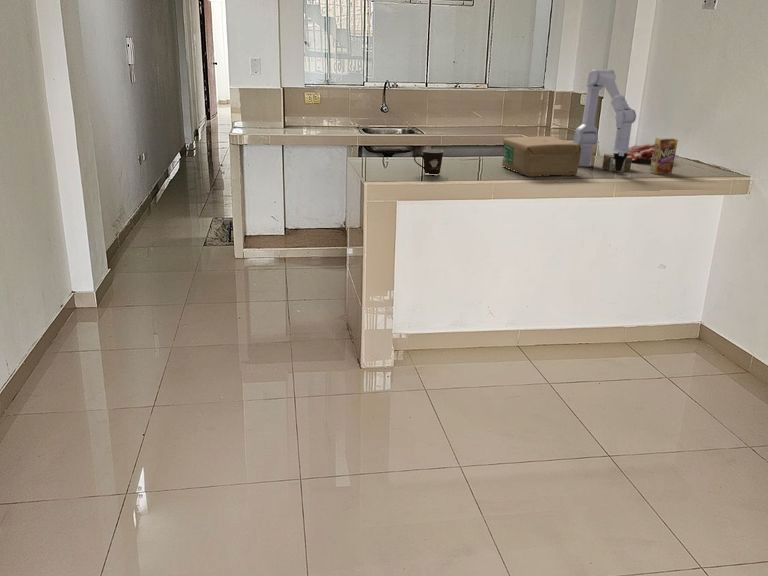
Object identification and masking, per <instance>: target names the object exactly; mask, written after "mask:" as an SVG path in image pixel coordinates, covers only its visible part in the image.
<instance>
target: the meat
mask: <svg viewBox="0 0 768 576" xmlns="http://www.w3.org/2000/svg"><path fill="white" fill-rule="evenodd" d="M654 145H655V142H654V143H647V144H641V145H639V144H638V145H637V144H636V145H635V144H634V145H632V146H629V147H628V149H631V151H628V152H625V153H627V156H632V161H636V160H638V159H639V160H650V159H651V160H652V155H653V150H654Z"/></svg>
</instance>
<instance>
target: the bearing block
mask: <svg viewBox="0 0 768 576" xmlns="http://www.w3.org/2000/svg"><path fill="white" fill-rule="evenodd" d="M602 158H603V160H602V166H601V168H602V170H604V169H607V171H609V167H610V160H611V158H614V160H613V161H615V157H614V154H607V153H604V154H603V157H602ZM632 161H633V160H632V156H627V157H626V159H625V166H624V172H631V169H632V168H631V167H632Z"/></svg>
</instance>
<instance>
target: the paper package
mask: <svg viewBox="0 0 768 576" xmlns="http://www.w3.org/2000/svg"><path fill="white" fill-rule="evenodd" d="M580 155H581V146H579V144H575V143H574V142H572V141H568V140H564V139H560V138H557V137H553V136H549V135H548V136H547V135H545V136H544V135H542V136H540V135H539V136H516V137H514V136H512V137H504V138H503V156H502V157H503V158H502V162H501V163H502V165H503V166H505V167H507V168H510V169H512V170H515V171H517V172H519V173H521V174H520V175H522V174H524V175H526V176H525V177H541V176H540V175H544V176H543V177H549V176H548V175H562V176H575V175H577V174H578V170H579V166H578V165H579V161H580ZM502 165H501V166H502ZM512 170H511V171H512ZM517 172H516V173H517ZM519 173H518V174H519ZM524 175H523V176H524ZM546 175H547V176H546Z"/></svg>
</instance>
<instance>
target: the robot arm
mask: <svg viewBox="0 0 768 576" xmlns="http://www.w3.org/2000/svg"><path fill="white" fill-rule="evenodd" d="M616 78H617V77H616V73H615V71H614V69H600V68H599V69H595V68H592V70H591V71H590V72H588V78H587V83H586V87H587V89H586V90H587V91H586V95H585V96H586V97H585V102H584V109H583V116H582V122H581V124H580V125H579V126H578V127H576V129H575V133H574V135H573V138H572V140H573V143H575V144H579V146H581V155H580V161H579V165H578V167H587V168H588V167H590V168H591V167H592V163H591V162H592V155H593V148H594V147H595V145H596V144H597V142H598V139H599V137H598V127H596V126H595V121H596V115H597V108H598V102H599V96H600V95H599V94H600V90H602V89H603V88H605V90H606V91H607V93H608V94H609V96H610V98H611V101H610V102H611V103H610V104H611V106H612V108H613V110H614V112H615V114H616V115H615V117H614V118H615V123H616V124H615V127H616V133H615V141H614V147H613V151H614V153H613V154H612V155H614V157H615V160H614V161H615V169H616V170H617V171H621V169H622V166H623V163H624V160H625V159H626V157H627V153H625V152H628V151H631V149H628V148H629V147H630V146H629V145H630V140H631V132H632V124H633V123H634V122H635V121H636V119H637V114H636V110H634V109H632V108H631V107H630V106H629V104H628V102H627V100H626V98H625V96H624V95H621V94H620V91H619V89H618V86H617V83H616Z"/></svg>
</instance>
